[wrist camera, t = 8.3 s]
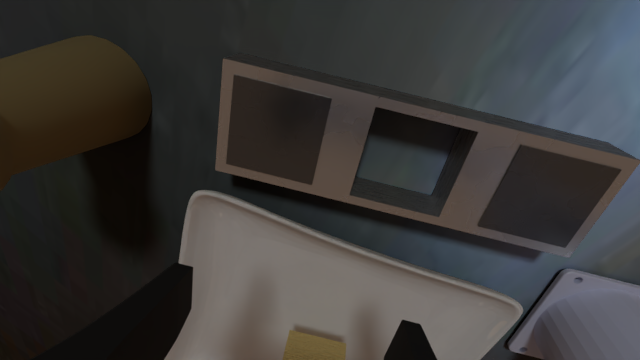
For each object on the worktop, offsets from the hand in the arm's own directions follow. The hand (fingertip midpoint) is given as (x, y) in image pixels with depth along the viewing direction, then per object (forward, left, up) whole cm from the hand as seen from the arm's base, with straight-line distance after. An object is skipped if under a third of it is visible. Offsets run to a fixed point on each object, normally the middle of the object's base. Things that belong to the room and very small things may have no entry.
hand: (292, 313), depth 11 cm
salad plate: (-2, +13, -11) cm, 17 cm away
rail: (-4, -3, -10) cm, 12 cm away
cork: (+14, -2, -11) cm, 18 cm away
